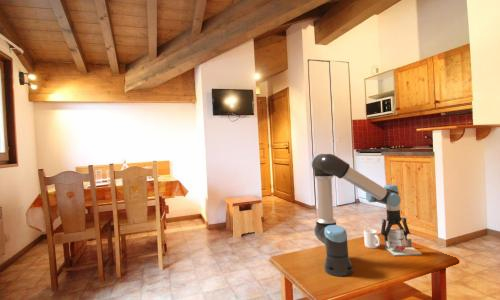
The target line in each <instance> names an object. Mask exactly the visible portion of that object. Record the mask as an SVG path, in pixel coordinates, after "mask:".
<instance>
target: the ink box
mask: <svg viewBox="0 0 500 300" xmlns="http://www.w3.org/2000/svg"><path fill="white" fill-rule="evenodd" d="M404 230H405V229H404ZM404 230H401V229H400V228H395V227H394V228H393V227H391V229H390V231H389V233H388V236H389V243H390V247H388V248H392V249H397V250H401V251H402V250H404V249H405V241H404Z"/></svg>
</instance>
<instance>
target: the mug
mask: <svg viewBox="0 0 500 300" xmlns="http://www.w3.org/2000/svg"><path fill="white" fill-rule="evenodd" d="M363 240H364V247H366V248H368V249H377V248H378V247H380V245H381V239H380V237H379V236H378V231H377V230H375V229H371V228H370V229H364V230H363Z"/></svg>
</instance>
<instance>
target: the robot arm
mask: <svg viewBox="0 0 500 300" xmlns="http://www.w3.org/2000/svg"><path fill="white" fill-rule="evenodd" d="M311 168H312V169H313V175H314V177H315V179H316V184H317V185H316V186H317V206H318V207H317V209H318V212H317V213H318V217H317V218H316V221H315V222H316V224H315V225H314V229H313V230H314V231H313V232H314V236H315V237H316V238H317V239H318V241H320V242H321V243H322V244H324V246H325V252H326V256H325V260H324V261H325V262H324V264H323V265H324V267H323V268H324V269H325V270H324V272H325V273H327V274H329V275H331V276H335V277H347V276H350V275H352V274H353V273H354V267H353V264H352V262H351V259H350V256H349V247H348V245H349V244H348V233H347V230H346V229H345V228H344V227H343V226H341V225H337V220H336V219H335V218H334V209H333V205H334V203H333V186H332V185H333V184H332V183H333V182H332V179H333V178H334V177H337V178H338V179H339V180H340V179H343V180H345V181H347V182H349V183H350V184H351V185H353V186H355V187H356V188H358V189H360V190H361V191H363V192H365V199H366V200H367V201H368V203H379V204H383V205H385V209H386V218H382V219H381V231H380V234H381V235H382V236H384V237H383V238H384V242H385V241H386V244H387V246H388V247H390V243H389V236H388V233H389V231H390V229H391V228H393V226H394V225H395V226H397V227H398V229H401V230H404V241H405V246H406V240H407V239H408V238H407V237H408V235H410V233H411V232H410V230H409V226H408V223H407V218H405V217H401V210H400V209H401V208H400V207H401V206H400V203H402V202H401V201H402V200H401V196H400V195H399V187H398V185H396V184H391V183H390V184H385V185H384V186H382V185H380V184H379V183H378V182H376V181H374V180H372V179H370V178H369V177H367V176H366V175H363V174H362V173H360V172H359V171H358V170H356V169H354V168H352V167H351V166H350V164H349V163H348V162H346V161H345V160H343V159H342V158H340V157H338V156H337V155H335V154H332V153H320V154H317V155H315V156H314V157H313V158H312V161H311ZM401 222H402V224H401ZM402 225H403V226H402Z"/></svg>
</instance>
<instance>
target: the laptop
mask: <svg viewBox="0 0 500 300" xmlns="http://www.w3.org/2000/svg"><path fill="white" fill-rule="evenodd" d="M384 244H385V246H384V247H385V250H386V251H388V253H390V254H391V255H392V256H393V257H405V256H406V257H408V256H409V257H410V256H422V255H423V253H422V252H421V251H419V250H418V249H416V248H415V247H413V246H412V239H411V238H407V240H406V246H405V249H404V250H402V251H401V250H397V249H392V248H388V246H387V244H386V241H385V240H384Z"/></svg>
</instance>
